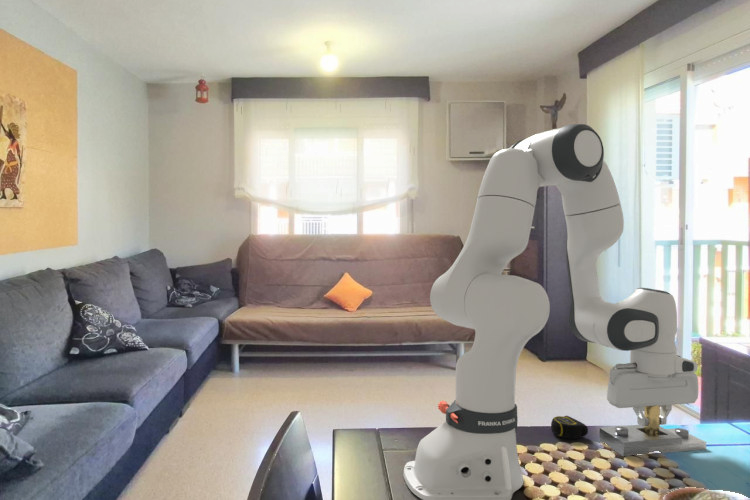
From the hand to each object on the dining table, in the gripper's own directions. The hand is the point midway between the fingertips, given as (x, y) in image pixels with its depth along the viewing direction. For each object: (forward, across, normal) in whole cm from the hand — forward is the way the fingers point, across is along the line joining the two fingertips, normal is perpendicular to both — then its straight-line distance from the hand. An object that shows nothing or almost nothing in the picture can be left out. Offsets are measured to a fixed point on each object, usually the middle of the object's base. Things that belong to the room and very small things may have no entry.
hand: (651, 424), depth 110 cm
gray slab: (+5, 0, 0) cm, 5 cm away
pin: (+4, 0, 0) cm, 4 cm away
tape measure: (+5, -15, +9) cm, 18 cm away
